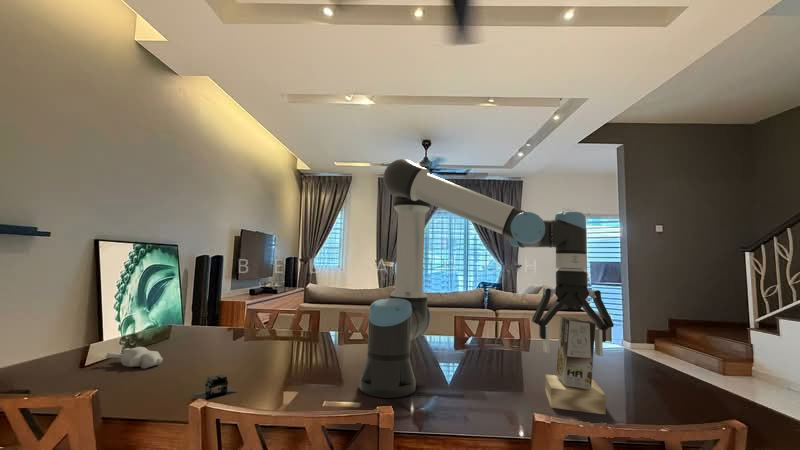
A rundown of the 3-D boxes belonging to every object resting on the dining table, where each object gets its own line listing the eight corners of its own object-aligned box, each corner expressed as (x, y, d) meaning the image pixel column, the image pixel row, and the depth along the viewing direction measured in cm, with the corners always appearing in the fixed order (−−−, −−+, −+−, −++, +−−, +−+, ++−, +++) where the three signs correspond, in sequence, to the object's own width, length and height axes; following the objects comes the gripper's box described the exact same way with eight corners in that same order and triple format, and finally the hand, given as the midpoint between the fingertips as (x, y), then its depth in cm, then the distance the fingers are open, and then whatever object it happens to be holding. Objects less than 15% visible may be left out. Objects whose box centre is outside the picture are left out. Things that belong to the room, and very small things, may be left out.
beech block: (551, 409, 90) (550, 388, 90) (545, 393, 101) (545, 374, 102) (605, 416, 86) (605, 394, 87) (593, 398, 98) (593, 379, 98)
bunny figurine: (145, 357, 107) (103, 347, 110) (141, 375, 106) (99, 365, 109) (171, 350, 116) (131, 341, 119) (167, 366, 116) (128, 357, 118)
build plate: (194, 406, 84) (196, 385, 85) (182, 398, 89) (184, 378, 89) (246, 393, 93) (248, 375, 94) (233, 386, 98) (235, 368, 99)
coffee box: (592, 390, 89) (596, 323, 90) (564, 386, 90) (568, 319, 92) (580, 379, 98) (584, 318, 99) (555, 375, 99) (559, 315, 101)
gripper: (527, 268, 95) (527, 354, 92) (627, 272, 92) (630, 359, 90) (520, 268, 102) (520, 347, 100) (612, 271, 100) (614, 352, 98)
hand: (572, 353), depth 95 cm, fingers open, 12 cm apart
